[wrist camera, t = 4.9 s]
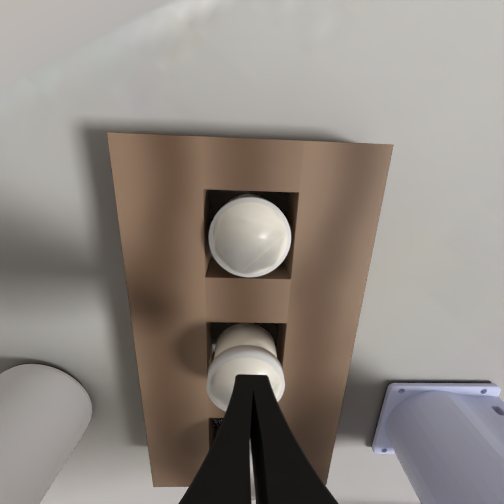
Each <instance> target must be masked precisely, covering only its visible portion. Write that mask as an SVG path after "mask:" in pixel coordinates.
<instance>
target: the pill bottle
mask: <svg viewBox="0 0 504 504" xmlns="http://www.w3.org/2000/svg"><path fill="white" fill-rule="evenodd" d="M91 416H92V403H91V400H90V397H89V395H88V394H87V392H86V390H85V389H84V388H83V387H82V386H81V384H80V383H79V382H77V381H76V380H75V379H74V378H72V377H71V376H69V375H68V374H66V373H64V372H62V371H60V370H58V369H56V368H53V367H49V366H45V365H40V364H24V365H19V366H15V367H12V368H10V369H8V370H6V371H4V372H2V373H1V374H0V504H40V502H41V500H42V499H43V497H44V496H45V494H46V493H47V491H48V489H49V488H50V486H51V485H52V483H53V481H54V480H55V478H56V477H57V475H58V474H59V472H60V470H61V469H62V467H63V466H64V464H65V462H66V461H67V459H68V458H69V456H70V455H71V453H72V451H73V450H74V448H75V447H76V445H77V443H78V442H79V440H80V439H81V437H82V436H83V434H84V432H85V430H86V428H87V426H88V425H89V422H90V420H91Z"/></svg>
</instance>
